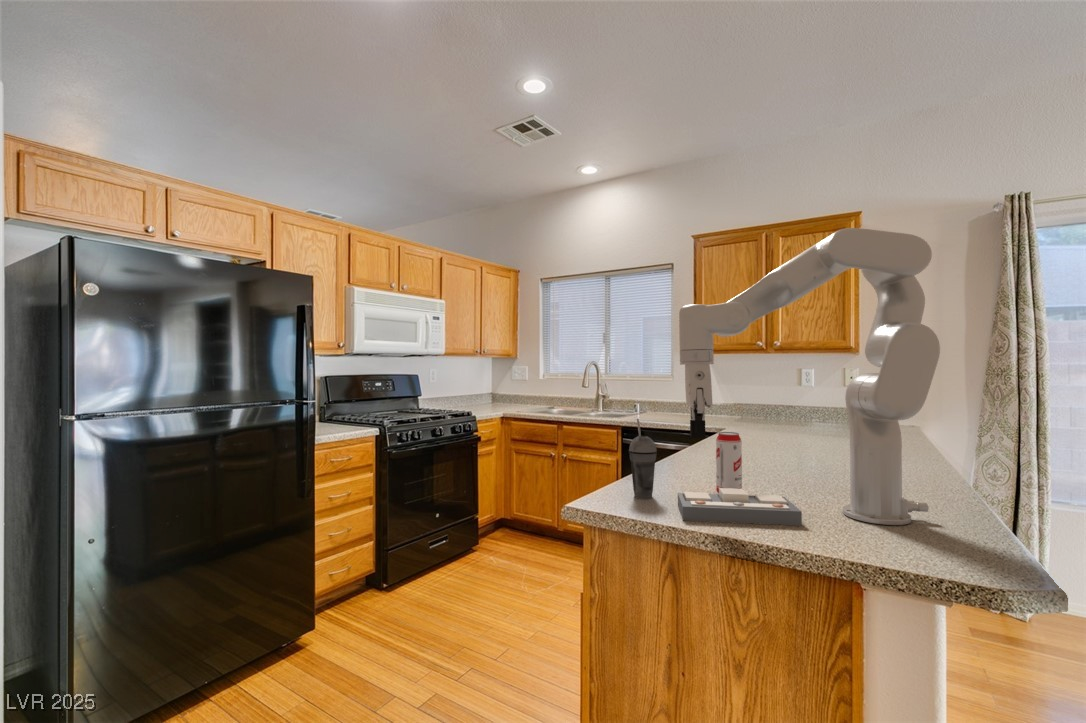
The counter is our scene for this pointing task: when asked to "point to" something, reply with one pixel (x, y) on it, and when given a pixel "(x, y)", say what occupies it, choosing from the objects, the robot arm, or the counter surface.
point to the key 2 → (770, 499)
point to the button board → (739, 511)
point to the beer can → (728, 461)
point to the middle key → (733, 495)
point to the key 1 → (696, 496)
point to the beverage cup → (642, 465)
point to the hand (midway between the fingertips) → (697, 437)
